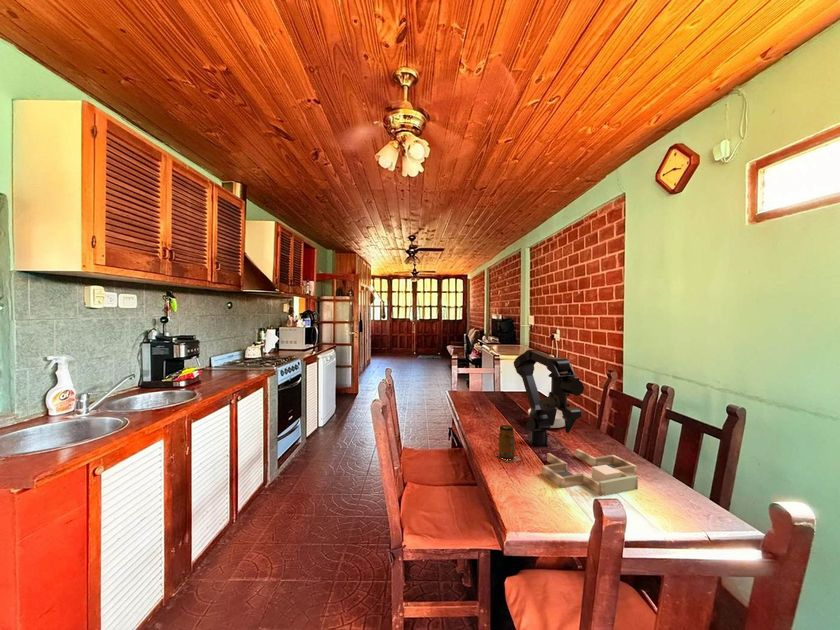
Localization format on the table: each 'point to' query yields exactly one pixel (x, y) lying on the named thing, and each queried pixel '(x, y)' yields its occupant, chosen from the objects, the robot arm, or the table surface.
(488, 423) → the table surface
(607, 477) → the block
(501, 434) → the condiment
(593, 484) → the box
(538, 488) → the table surface
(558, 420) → the serving bowl
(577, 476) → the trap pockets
